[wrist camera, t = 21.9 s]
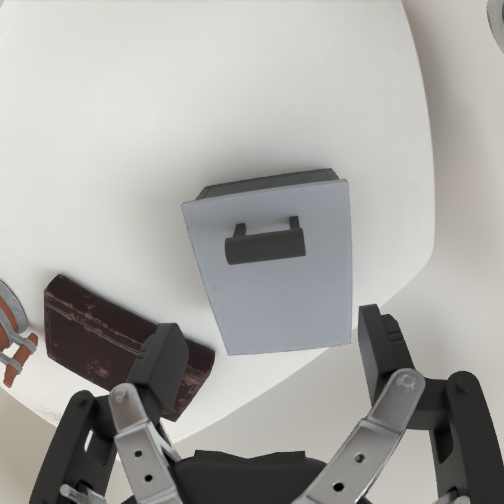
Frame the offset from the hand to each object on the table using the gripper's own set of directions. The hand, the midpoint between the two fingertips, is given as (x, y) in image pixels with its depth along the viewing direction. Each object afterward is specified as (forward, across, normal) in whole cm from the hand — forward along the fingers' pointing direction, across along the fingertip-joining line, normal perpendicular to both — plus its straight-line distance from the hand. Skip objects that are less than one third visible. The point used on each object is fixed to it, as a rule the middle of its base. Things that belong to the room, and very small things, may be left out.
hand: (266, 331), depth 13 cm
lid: (+12, +1, +6) cm, 13 cm away
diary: (+19, +27, +20) cm, 38 cm away
